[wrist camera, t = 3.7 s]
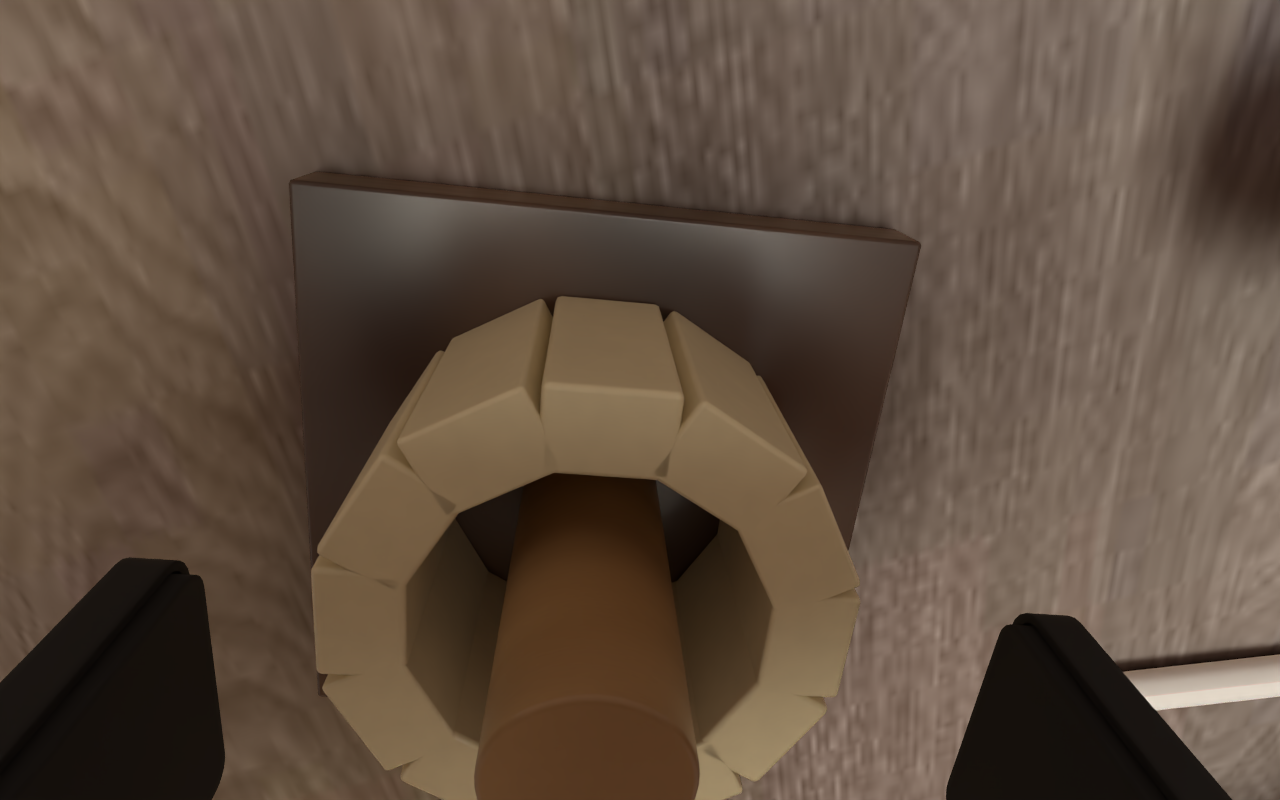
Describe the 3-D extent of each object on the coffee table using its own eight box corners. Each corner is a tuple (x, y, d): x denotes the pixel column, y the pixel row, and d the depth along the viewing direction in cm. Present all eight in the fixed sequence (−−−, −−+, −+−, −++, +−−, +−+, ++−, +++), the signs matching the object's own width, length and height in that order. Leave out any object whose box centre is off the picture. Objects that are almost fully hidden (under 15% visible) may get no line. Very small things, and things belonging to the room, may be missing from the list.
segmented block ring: (388, 644, 15) (323, 826, 12) (382, 278, 13) (296, 363, 9) (754, 662, 16) (803, 839, 12) (822, 318, 13) (910, 412, 10)
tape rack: (335, 656, 17) (150, 1074, 10) (313, 170, 13) (-12, 281, 6) (796, 678, 18) (928, 1075, 11) (897, 229, 14) (1202, 385, 7)
